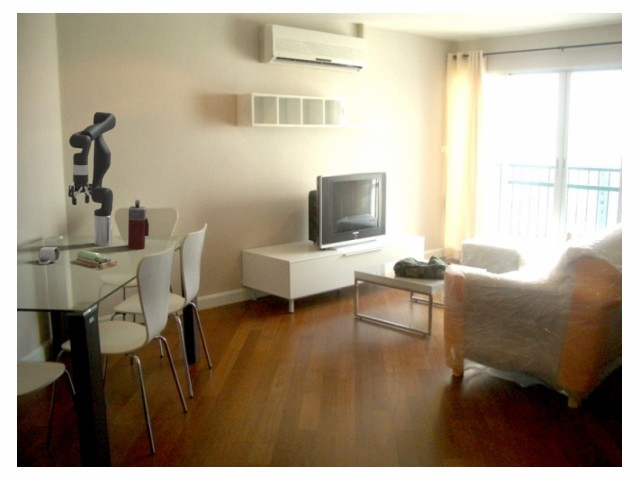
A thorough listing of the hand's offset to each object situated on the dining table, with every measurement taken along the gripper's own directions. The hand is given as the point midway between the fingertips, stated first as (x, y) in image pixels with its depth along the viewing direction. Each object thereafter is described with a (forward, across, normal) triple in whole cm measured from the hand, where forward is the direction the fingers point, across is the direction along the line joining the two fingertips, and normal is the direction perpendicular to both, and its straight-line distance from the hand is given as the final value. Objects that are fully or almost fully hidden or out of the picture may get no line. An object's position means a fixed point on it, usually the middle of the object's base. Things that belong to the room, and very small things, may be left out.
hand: (80, 204), depth 318 cm
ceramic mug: (+28, +20, -2) cm, 35 cm away
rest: (+28, +7, +18) cm, 34 cm away
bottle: (+25, +6, +7) cm, 27 cm away
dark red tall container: (+28, -35, +9) cm, 46 cm away
